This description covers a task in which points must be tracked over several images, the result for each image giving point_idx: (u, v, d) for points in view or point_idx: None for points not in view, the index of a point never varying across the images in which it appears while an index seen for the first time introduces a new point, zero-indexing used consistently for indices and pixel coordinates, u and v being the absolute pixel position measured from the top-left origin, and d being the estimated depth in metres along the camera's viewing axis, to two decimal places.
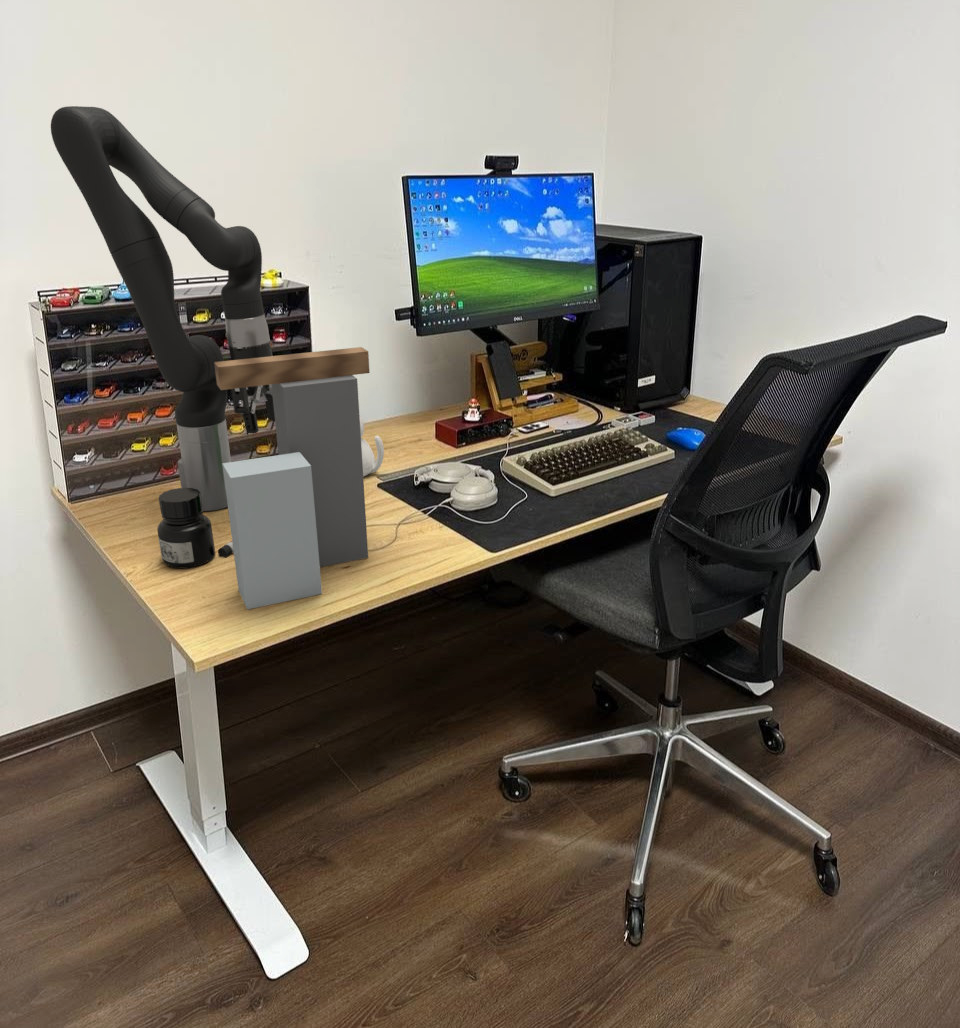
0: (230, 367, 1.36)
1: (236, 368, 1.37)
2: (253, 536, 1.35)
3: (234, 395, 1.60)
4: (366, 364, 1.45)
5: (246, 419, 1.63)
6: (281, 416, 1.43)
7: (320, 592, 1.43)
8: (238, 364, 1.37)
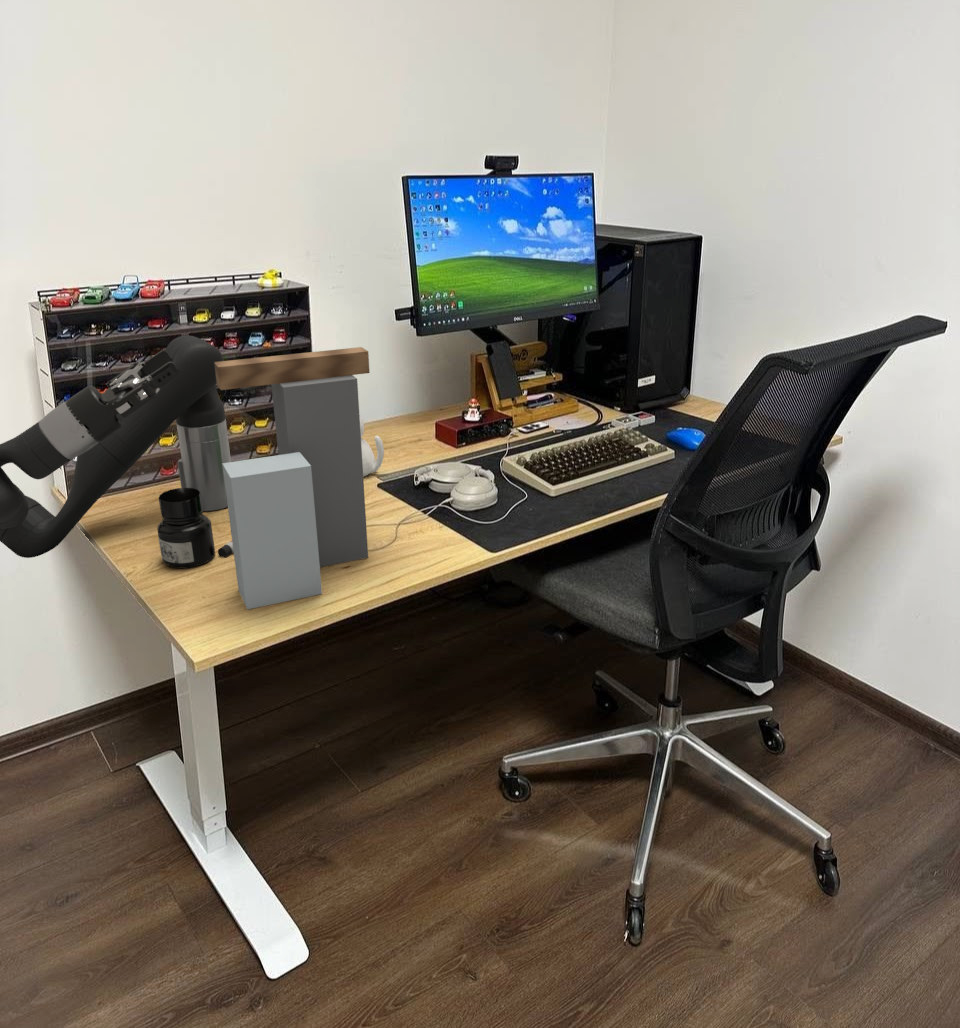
0: (230, 367, 1.36)
1: (236, 368, 1.37)
2: (253, 536, 1.35)
3: (135, 406, 1.28)
4: (366, 364, 1.45)
5: (161, 380, 1.30)
6: (281, 416, 1.43)
7: (320, 592, 1.43)
8: (238, 364, 1.37)
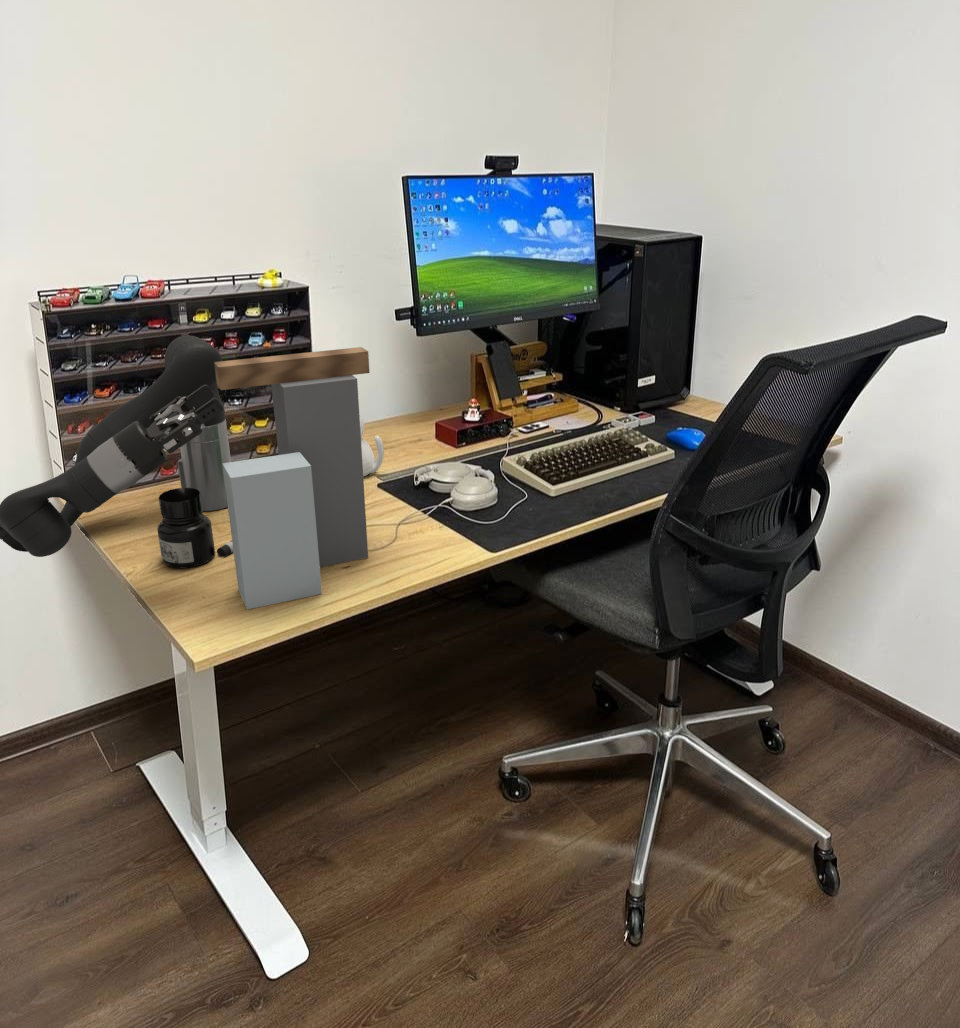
0: (230, 367, 1.36)
1: (236, 368, 1.37)
2: (253, 536, 1.35)
3: (181, 442, 1.32)
4: (366, 364, 1.45)
5: (206, 416, 1.33)
6: (281, 416, 1.43)
7: (320, 592, 1.43)
8: (238, 364, 1.37)
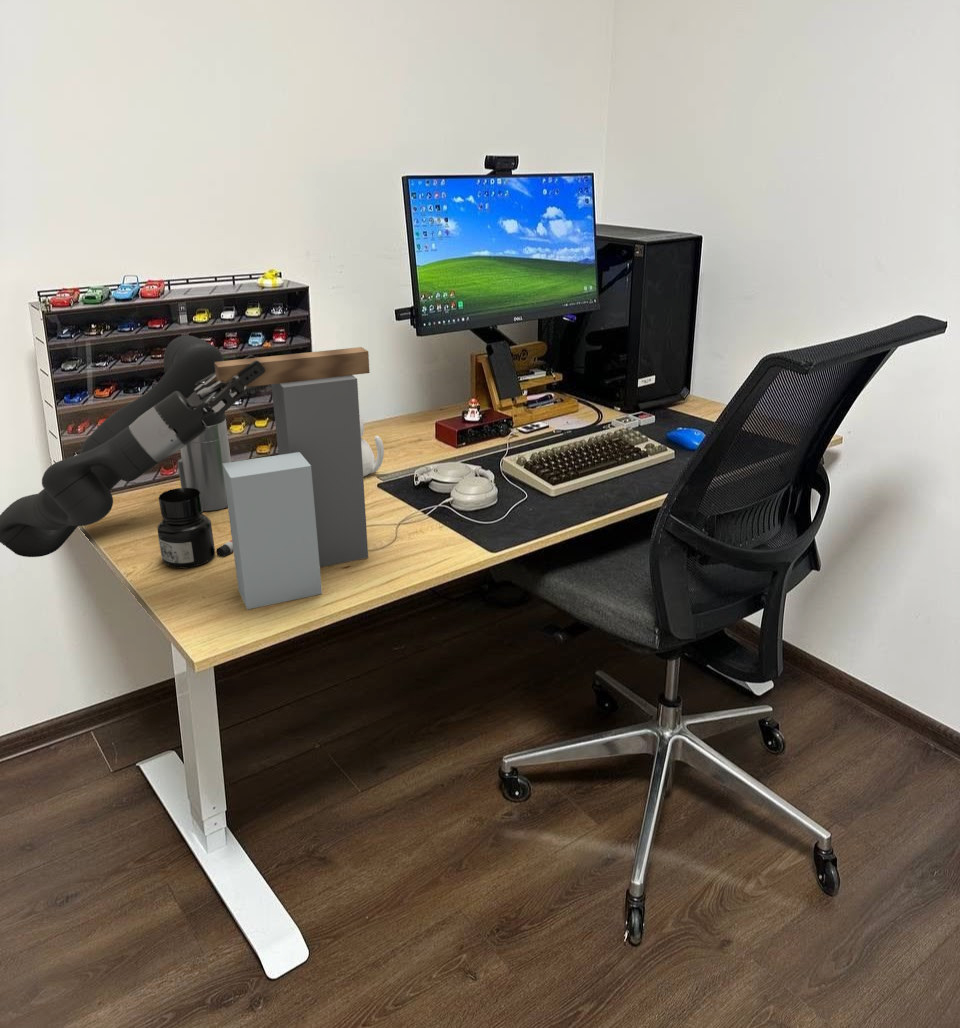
0: (230, 367, 1.36)
1: (236, 368, 1.37)
2: (253, 536, 1.35)
3: (229, 403, 1.34)
4: (366, 364, 1.46)
5: (248, 378, 1.37)
6: (281, 416, 1.43)
7: (320, 592, 1.43)
8: (238, 364, 1.37)
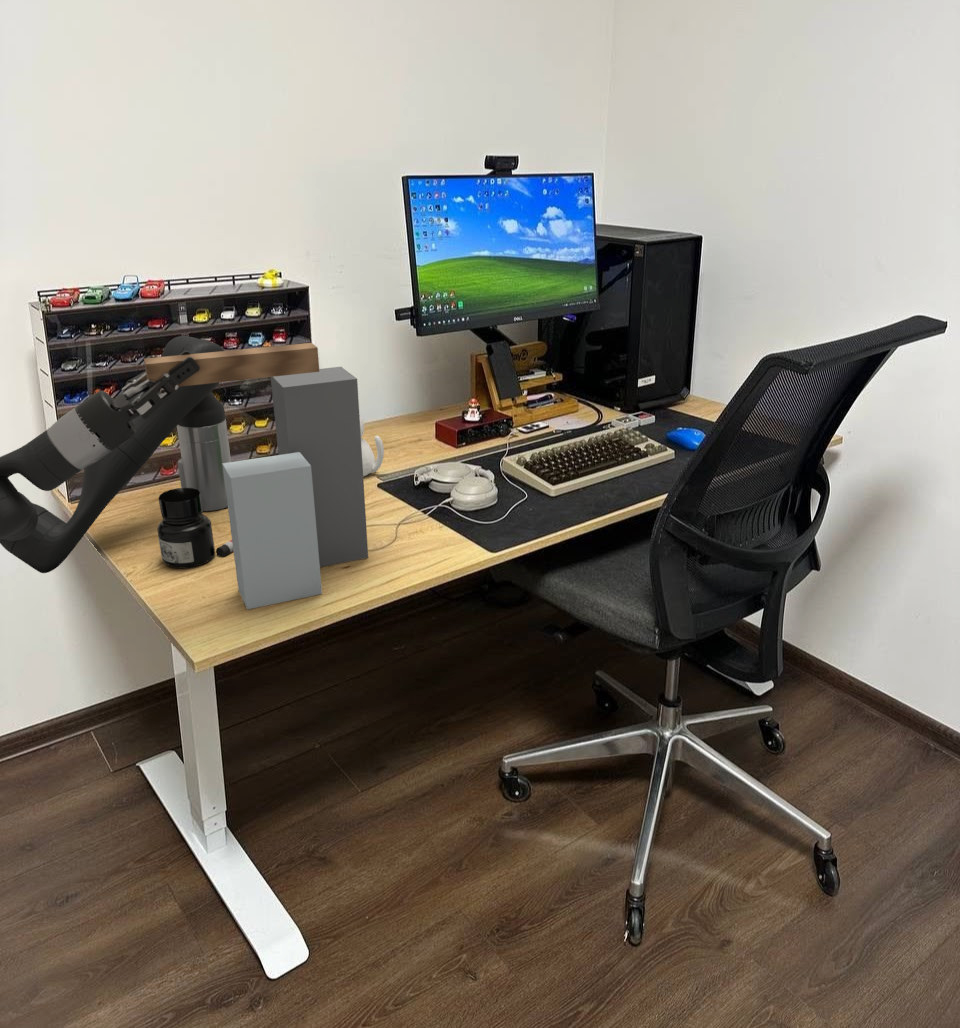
0: (160, 364, 1.23)
1: (166, 366, 1.23)
2: (253, 536, 1.35)
3: (157, 404, 1.21)
4: (315, 362, 1.31)
5: (180, 376, 1.23)
6: (281, 416, 1.43)
7: (320, 592, 1.43)
8: (169, 361, 1.24)
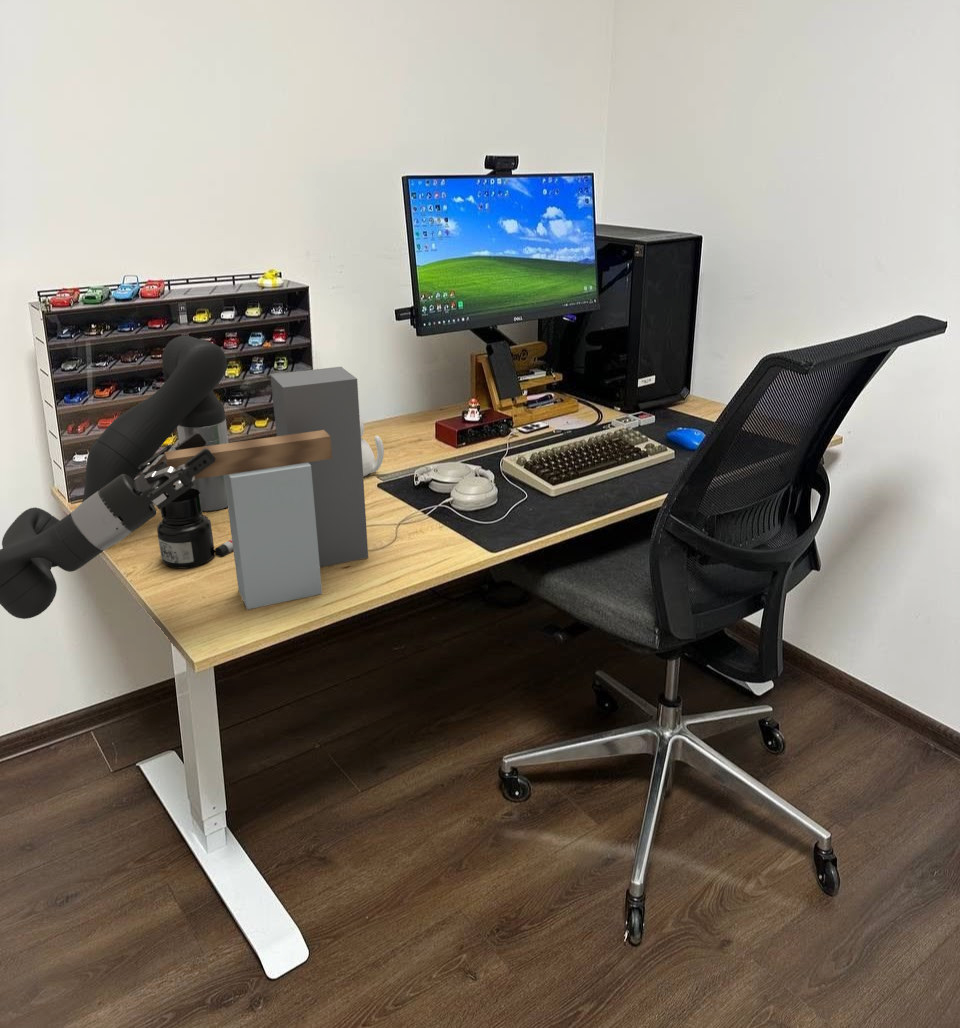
0: (180, 459, 1.28)
1: (187, 460, 1.28)
2: (253, 536, 1.35)
3: (172, 496, 1.24)
4: (328, 449, 1.37)
5: (197, 468, 1.26)
6: (281, 416, 1.43)
7: (320, 592, 1.43)
8: (189, 455, 1.29)
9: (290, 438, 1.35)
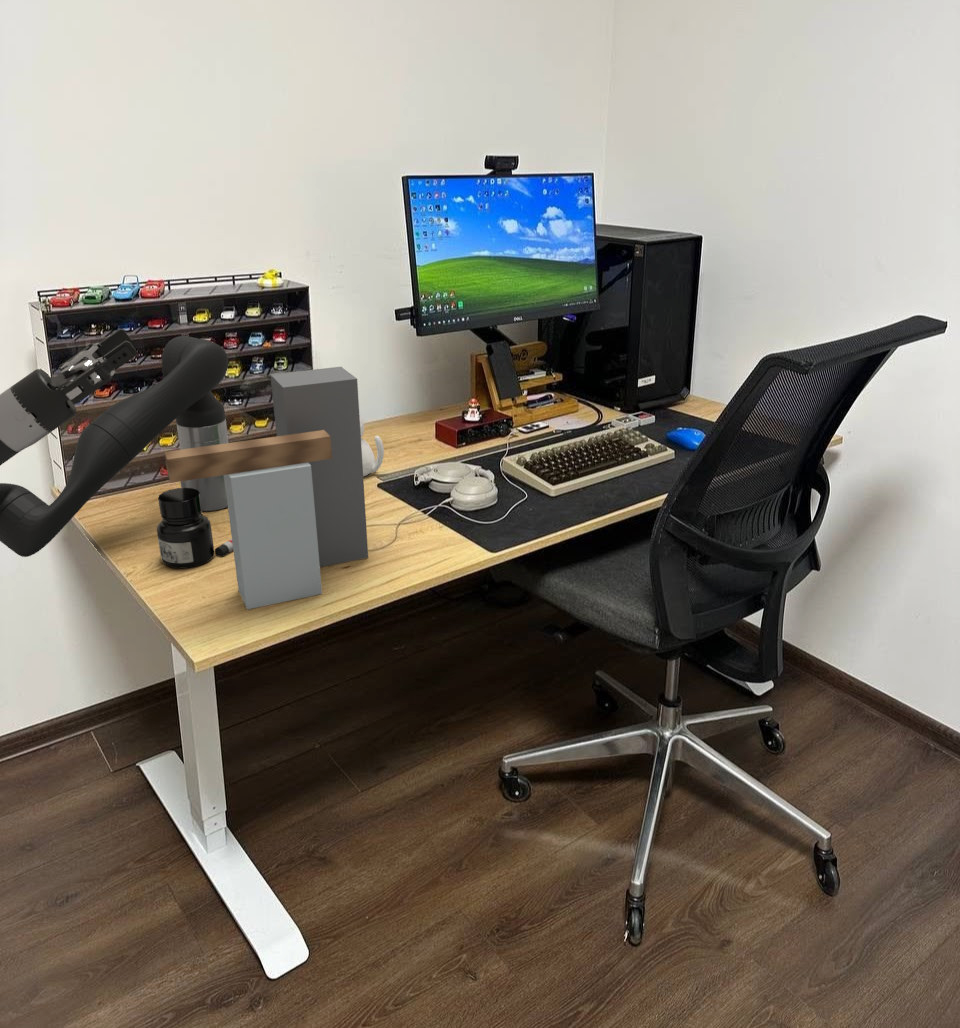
0: (180, 459, 1.28)
1: (187, 460, 1.28)
2: (253, 536, 1.35)
3: (87, 390, 1.15)
4: (328, 449, 1.37)
5: (116, 362, 1.16)
6: (281, 416, 1.43)
7: (320, 592, 1.43)
8: (189, 455, 1.29)
9: (290, 438, 1.35)
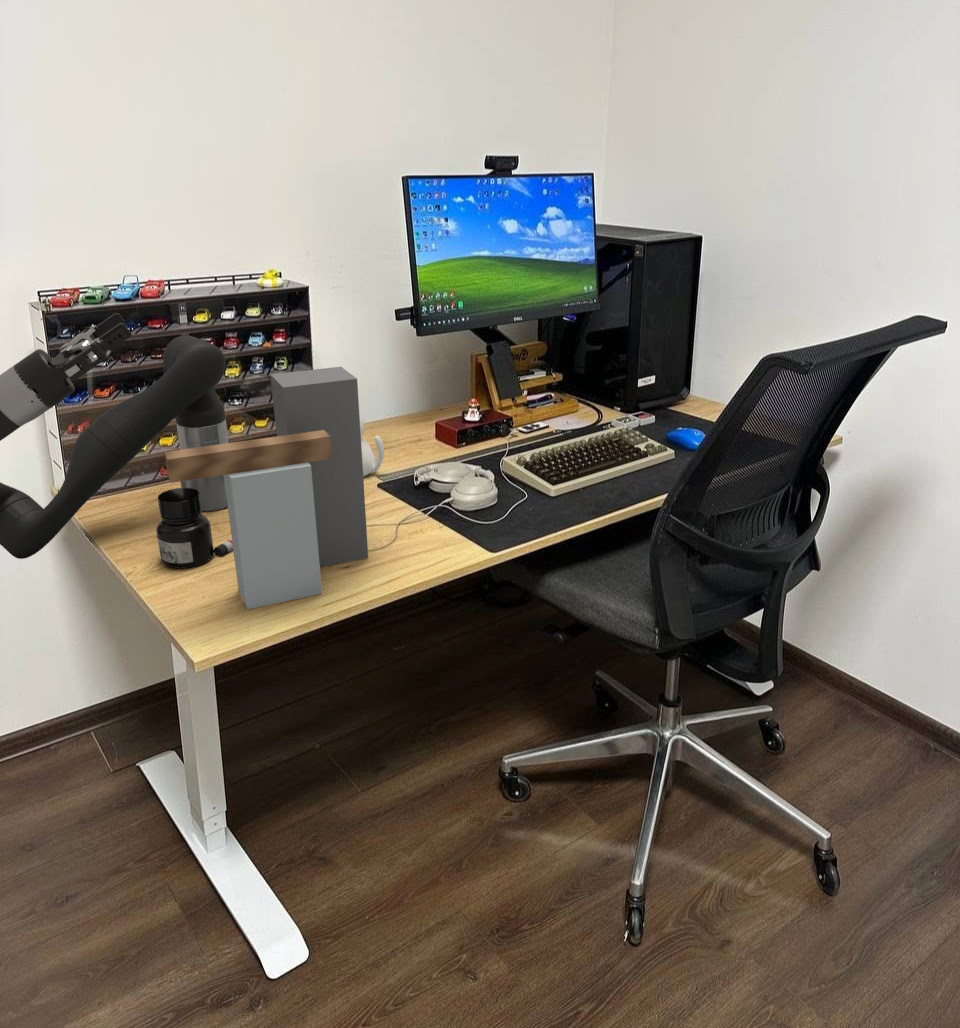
0: (180, 459, 1.28)
1: (187, 460, 1.28)
2: (253, 536, 1.35)
3: (85, 368, 1.24)
4: (328, 449, 1.37)
5: (112, 342, 1.26)
6: (281, 416, 1.43)
7: (320, 592, 1.43)
8: (189, 455, 1.29)
9: (290, 438, 1.35)
